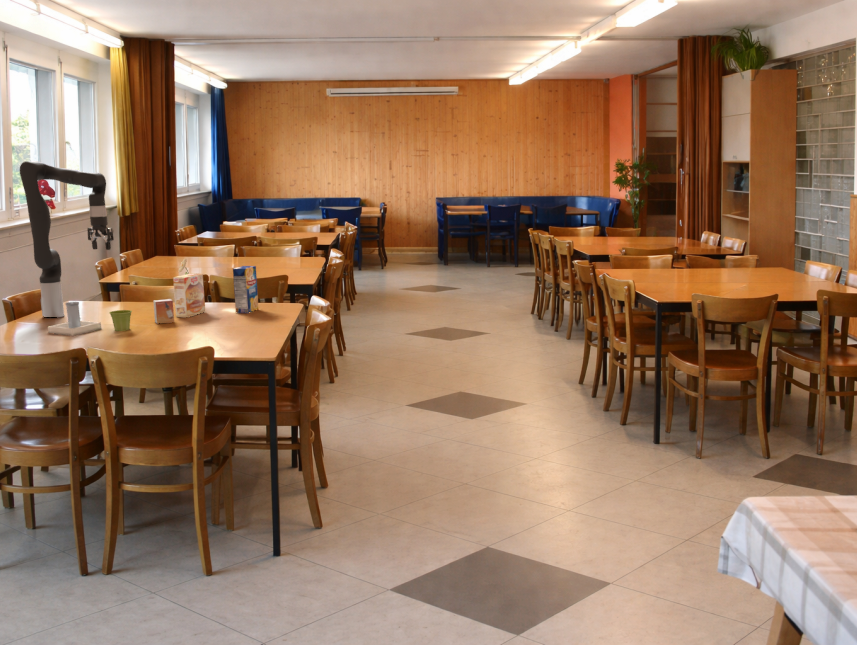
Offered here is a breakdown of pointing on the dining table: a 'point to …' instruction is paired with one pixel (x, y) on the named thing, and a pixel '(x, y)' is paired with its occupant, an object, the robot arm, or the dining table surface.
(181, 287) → the coffeecake box
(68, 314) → the canister
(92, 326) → the dish
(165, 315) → the small box
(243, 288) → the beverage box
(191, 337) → the dining table surface
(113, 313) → the plant pot
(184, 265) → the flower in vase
